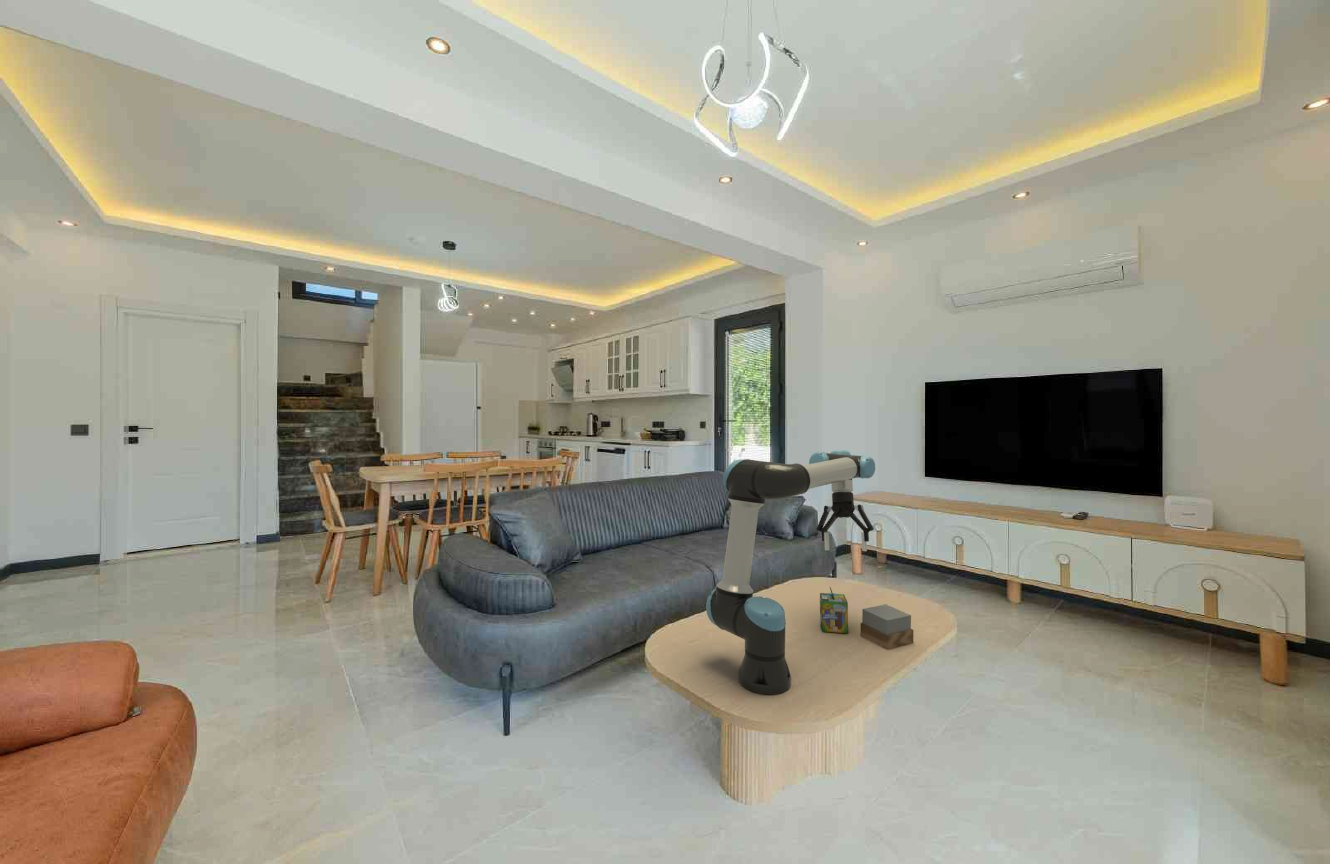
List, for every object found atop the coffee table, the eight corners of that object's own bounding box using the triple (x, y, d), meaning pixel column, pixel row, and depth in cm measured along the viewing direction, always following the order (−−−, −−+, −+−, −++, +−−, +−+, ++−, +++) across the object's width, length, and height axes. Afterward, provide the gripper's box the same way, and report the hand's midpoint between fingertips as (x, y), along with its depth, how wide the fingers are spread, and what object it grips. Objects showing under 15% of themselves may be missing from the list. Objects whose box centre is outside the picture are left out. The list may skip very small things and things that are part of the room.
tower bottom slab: (887, 650, 174) (888, 636, 173) (860, 636, 185) (860, 622, 184) (913, 643, 179) (913, 629, 178) (885, 630, 190) (885, 617, 189)
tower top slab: (886, 635, 174) (887, 620, 174) (862, 622, 184) (862, 608, 184) (910, 629, 179) (911, 615, 178) (885, 617, 189) (885, 604, 188)
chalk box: (848, 634, 186) (848, 593, 185) (821, 632, 187) (821, 591, 187) (844, 623, 195) (845, 584, 194) (819, 621, 196) (819, 583, 196)
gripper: (880, 491, 189) (884, 551, 185) (814, 494, 204) (816, 550, 200) (873, 489, 184) (877, 551, 179) (806, 492, 199) (808, 549, 194)
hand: (845, 550), depth 189 cm, fingers open, 13 cm apart
